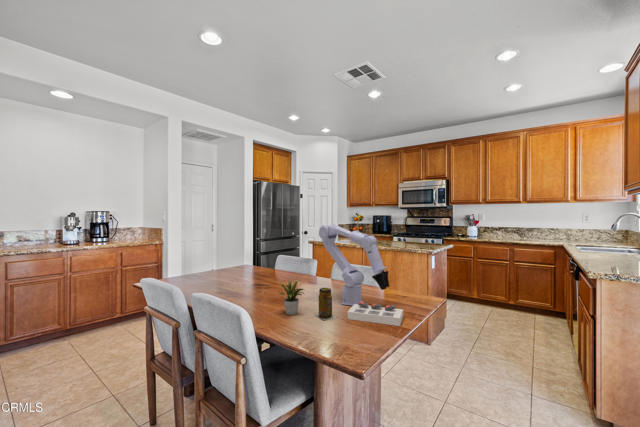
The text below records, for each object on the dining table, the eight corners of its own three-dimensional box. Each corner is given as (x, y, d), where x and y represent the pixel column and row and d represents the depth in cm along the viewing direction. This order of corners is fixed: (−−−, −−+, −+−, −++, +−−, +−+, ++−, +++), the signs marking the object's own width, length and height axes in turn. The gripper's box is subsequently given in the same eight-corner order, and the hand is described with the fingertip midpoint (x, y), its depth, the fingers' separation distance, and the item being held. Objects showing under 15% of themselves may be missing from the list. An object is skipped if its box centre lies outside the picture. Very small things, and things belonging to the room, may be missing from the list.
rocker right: (385, 311, 124) (384, 307, 124) (386, 309, 127) (385, 305, 127) (394, 310, 123) (393, 306, 123) (395, 308, 125) (394, 304, 126)
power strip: (347, 319, 124) (347, 311, 124) (357, 308, 138) (356, 300, 138) (399, 326, 116) (399, 317, 116) (404, 313, 130) (404, 306, 130)
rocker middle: (371, 309, 127) (371, 306, 127) (373, 307, 129) (372, 304, 129) (380, 308, 125) (379, 305, 125) (381, 306, 128) (381, 303, 128)
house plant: (278, 321, 123) (277, 283, 123) (270, 311, 136) (269, 276, 135) (309, 316, 129) (308, 279, 128) (299, 306, 141) (298, 273, 141)
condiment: (328, 312, 134) (328, 286, 133) (337, 317, 126) (337, 290, 126) (314, 314, 130) (314, 288, 130) (323, 320, 123) (322, 292, 123)
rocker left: (358, 306, 129) (358, 302, 129) (359, 304, 132) (360, 301, 132) (366, 308, 128) (367, 305, 127) (368, 306, 130) (368, 303, 130)
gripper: (379, 257, 129) (390, 287, 125) (386, 256, 142) (396, 283, 138) (365, 262, 131) (375, 292, 128) (373, 261, 144) (382, 288, 141)
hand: (385, 288), depth 133 cm, fingers open, 7 cm apart
